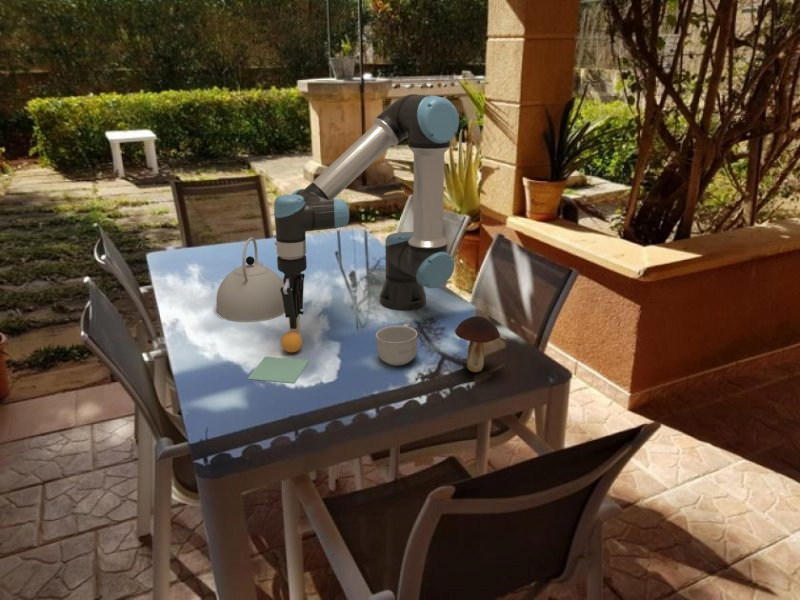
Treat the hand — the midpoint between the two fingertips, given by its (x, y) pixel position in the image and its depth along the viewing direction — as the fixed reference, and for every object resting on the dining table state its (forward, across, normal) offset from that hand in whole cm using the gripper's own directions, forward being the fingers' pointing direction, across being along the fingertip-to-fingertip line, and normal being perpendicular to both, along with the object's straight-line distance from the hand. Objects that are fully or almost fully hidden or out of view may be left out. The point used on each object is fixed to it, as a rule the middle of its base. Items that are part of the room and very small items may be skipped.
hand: (295, 337), depth 162 cm
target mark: (+2, +15, 0) cm, 15 cm away
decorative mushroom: (+2, +6, +49) cm, 50 cm away
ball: (0, +4, 0) cm, 4 cm away
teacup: (+2, +2, +29) cm, 30 cm away
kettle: (+3, -24, -22) cm, 33 cm away
